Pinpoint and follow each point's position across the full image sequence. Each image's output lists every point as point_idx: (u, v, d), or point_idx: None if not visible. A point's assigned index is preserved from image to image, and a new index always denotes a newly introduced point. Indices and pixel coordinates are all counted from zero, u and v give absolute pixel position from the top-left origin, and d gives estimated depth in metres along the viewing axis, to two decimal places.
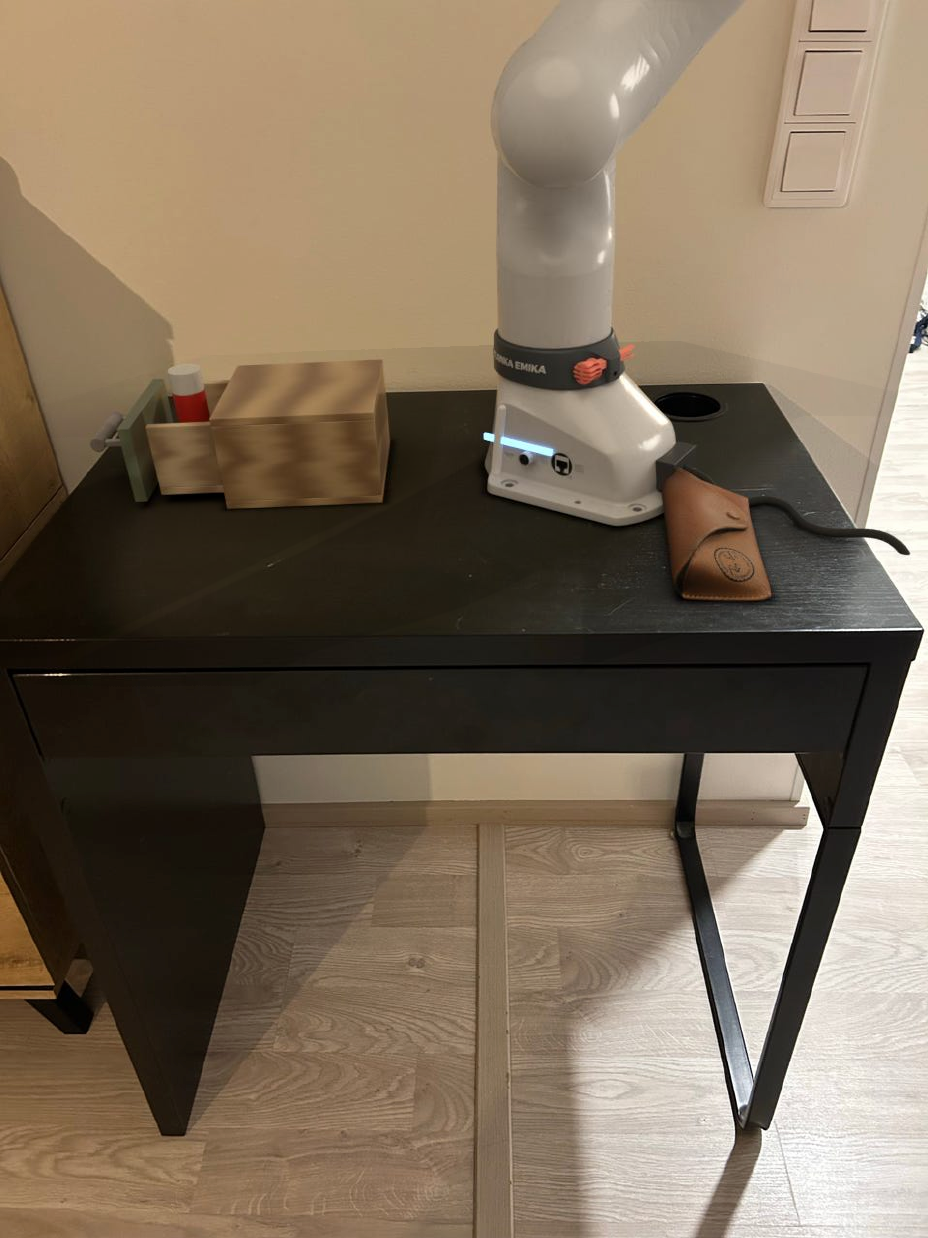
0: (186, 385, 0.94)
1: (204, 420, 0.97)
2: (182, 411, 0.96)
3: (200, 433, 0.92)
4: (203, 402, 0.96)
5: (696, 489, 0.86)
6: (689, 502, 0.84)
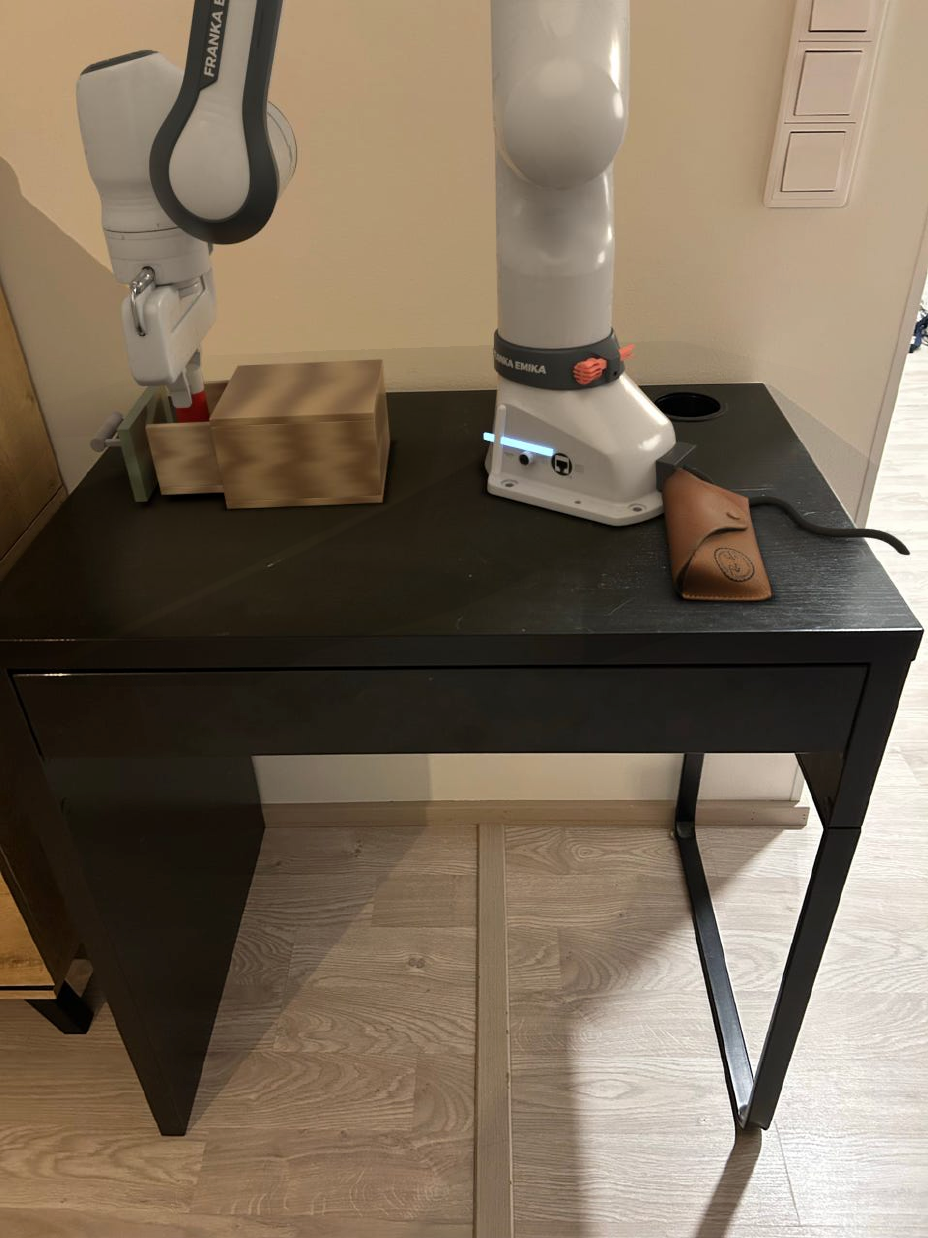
0: None
1: (204, 420, 0.97)
2: (182, 411, 0.96)
3: (200, 433, 0.92)
4: (203, 402, 0.96)
5: (696, 489, 0.86)
6: (689, 502, 0.84)
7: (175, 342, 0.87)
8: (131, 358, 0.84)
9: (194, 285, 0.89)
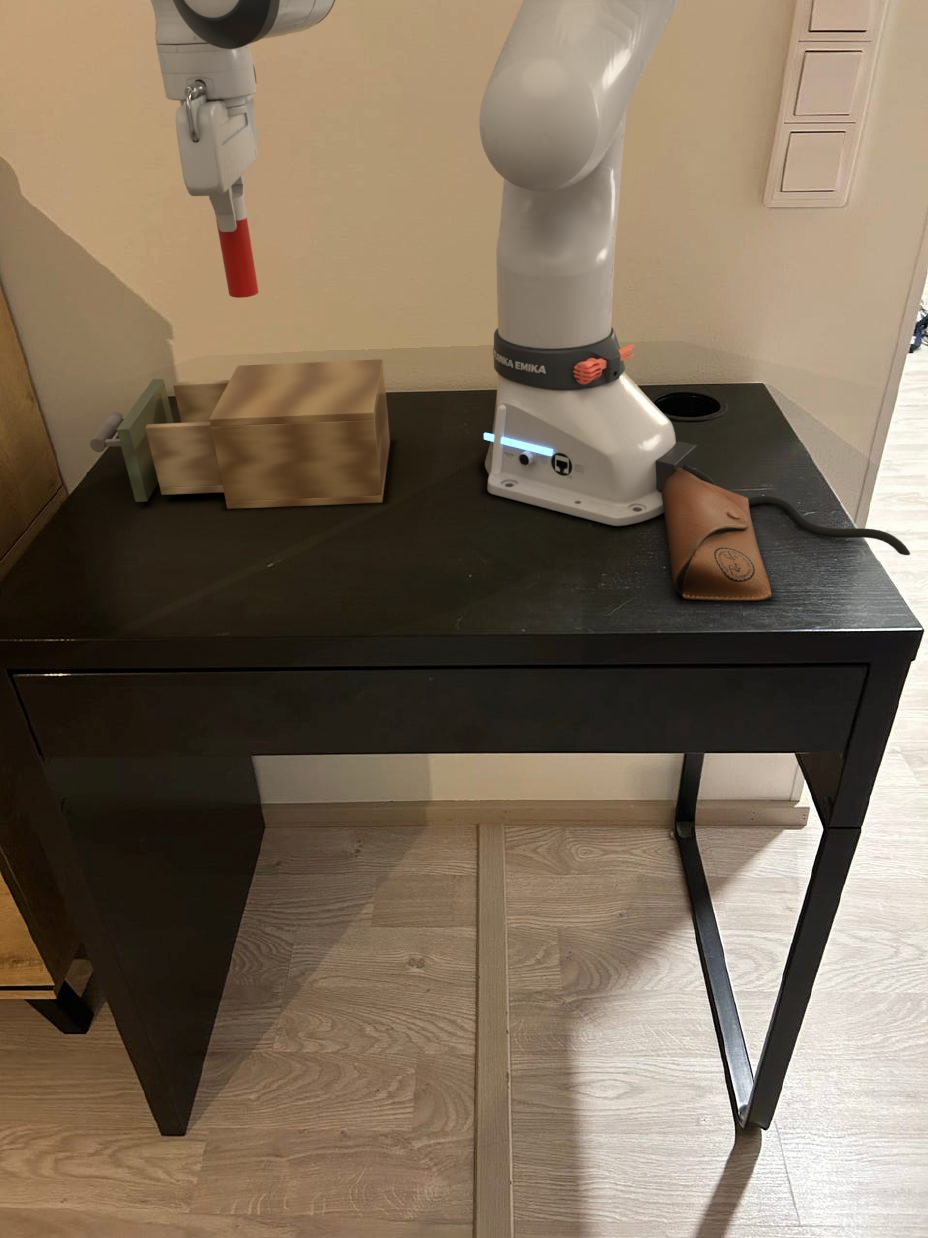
0: None
1: (246, 249, 1.02)
2: (226, 238, 1.00)
3: (200, 433, 0.92)
4: (246, 230, 1.01)
5: (696, 489, 0.86)
6: (689, 502, 0.84)
7: (224, 155, 0.91)
8: (184, 165, 0.89)
9: (241, 106, 0.94)
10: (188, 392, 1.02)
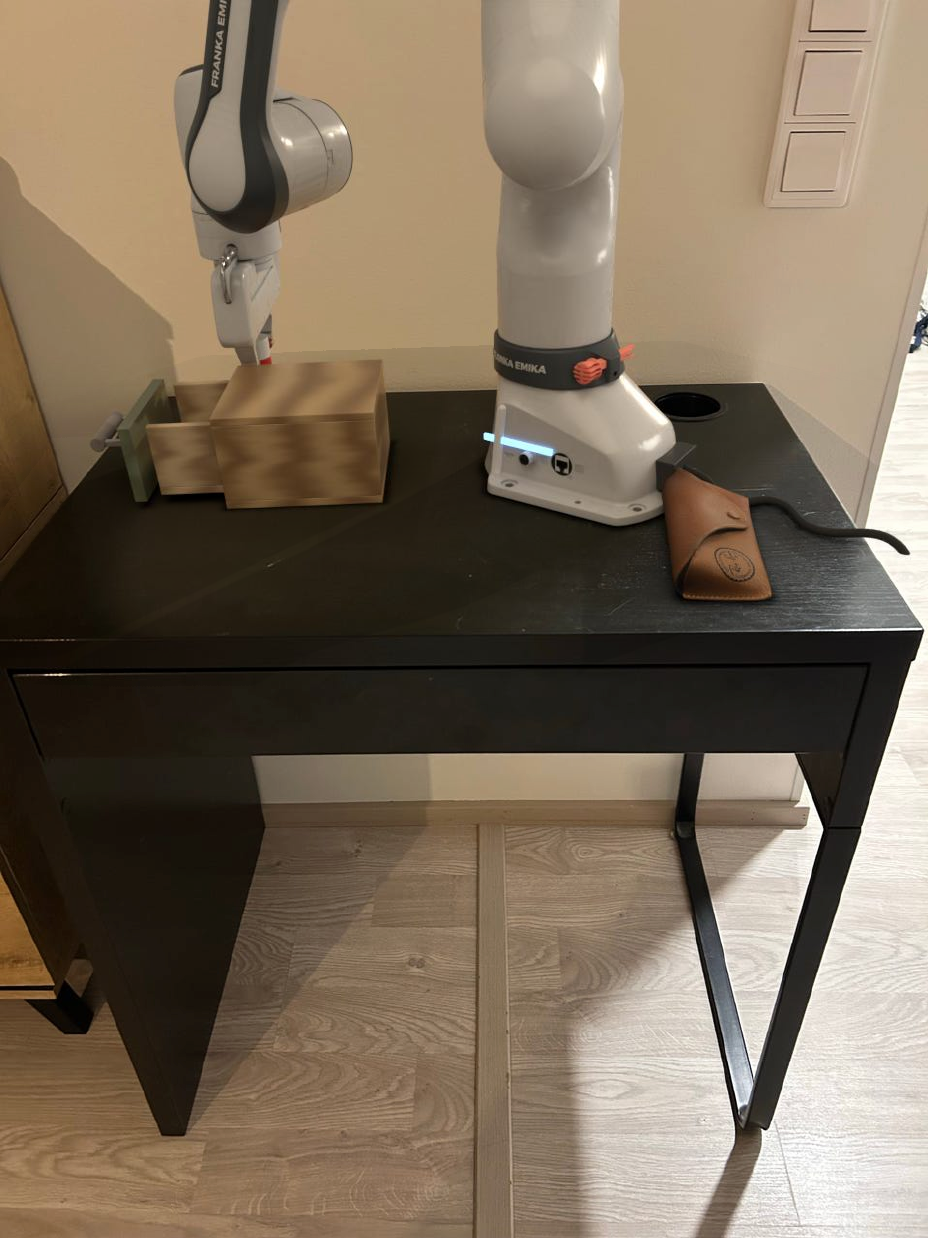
0: None
1: None
2: None
3: (200, 433, 0.92)
4: None
5: (696, 489, 0.86)
6: (689, 502, 0.84)
7: (254, 310, 1.00)
8: (218, 323, 0.98)
9: (268, 261, 1.03)
10: (188, 392, 1.02)
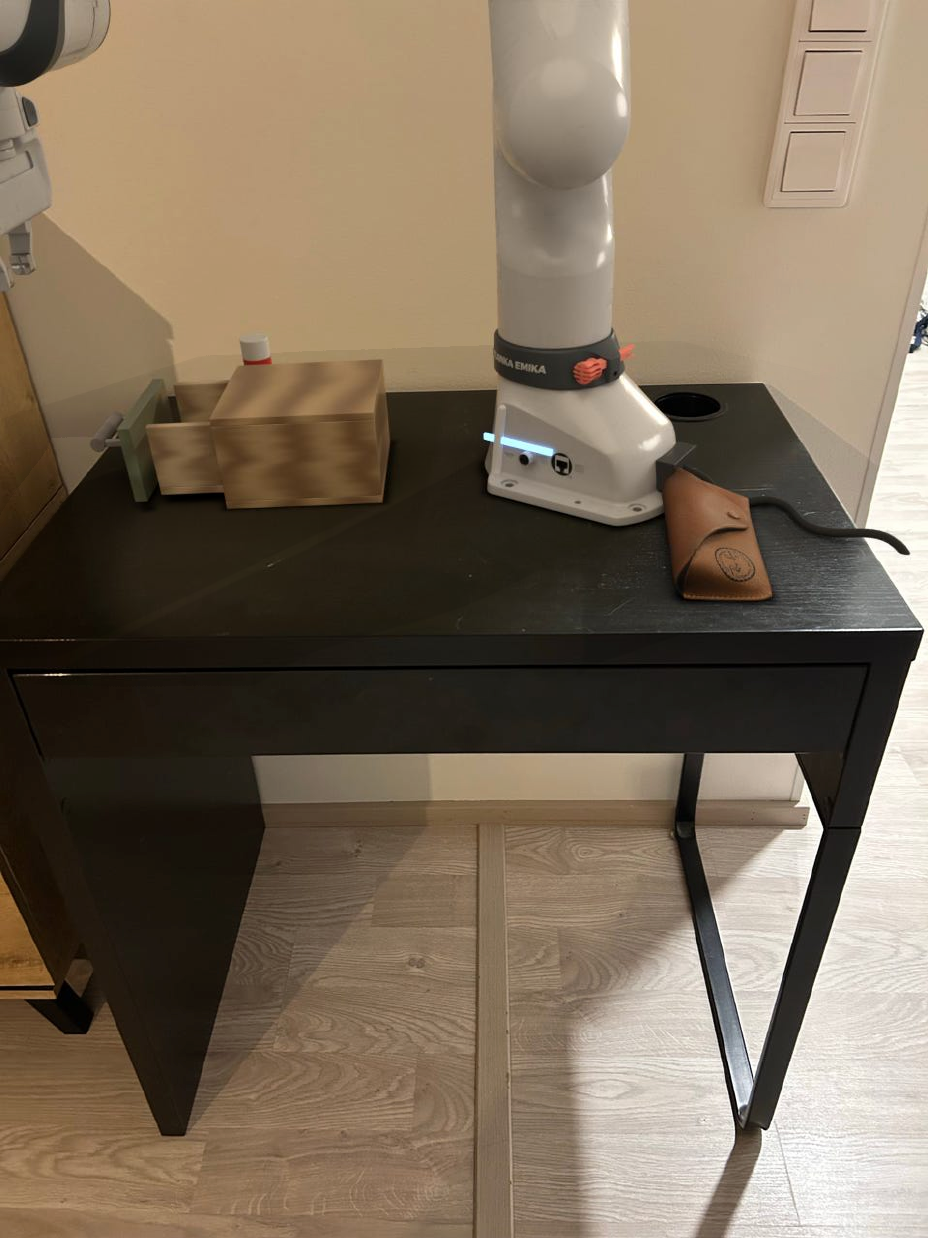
0: (256, 352, 1.08)
1: None
2: None
3: (200, 433, 0.92)
4: None
5: (696, 489, 0.86)
6: (689, 502, 0.84)
7: None
8: None
9: (5, 151, 0.83)
10: (188, 392, 1.02)
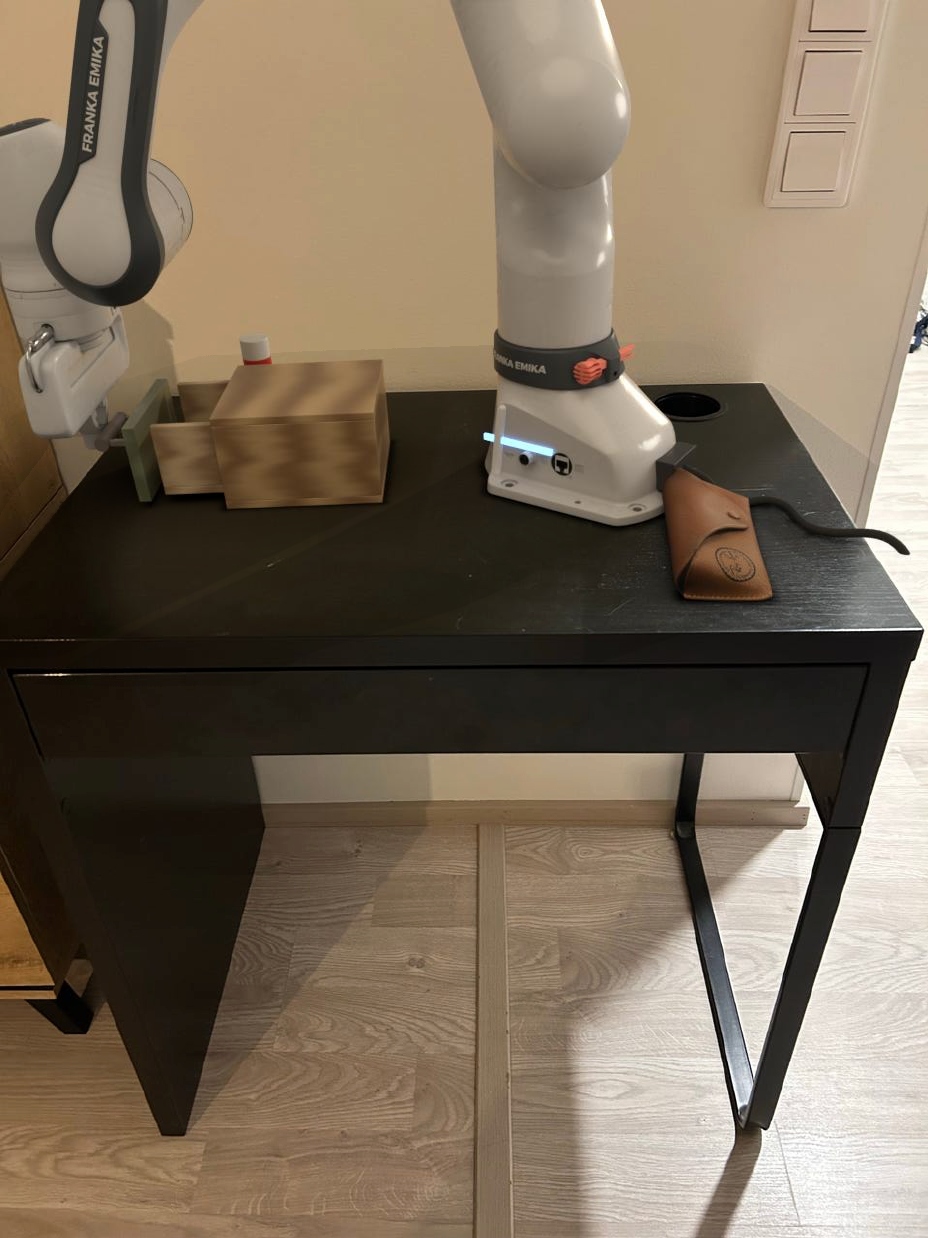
0: (256, 352, 1.08)
1: None
2: None
3: (205, 433, 0.92)
4: None
5: (696, 489, 0.86)
6: (690, 502, 0.84)
7: (75, 396, 0.90)
8: (30, 413, 0.87)
9: (96, 339, 0.92)
10: (192, 392, 1.02)
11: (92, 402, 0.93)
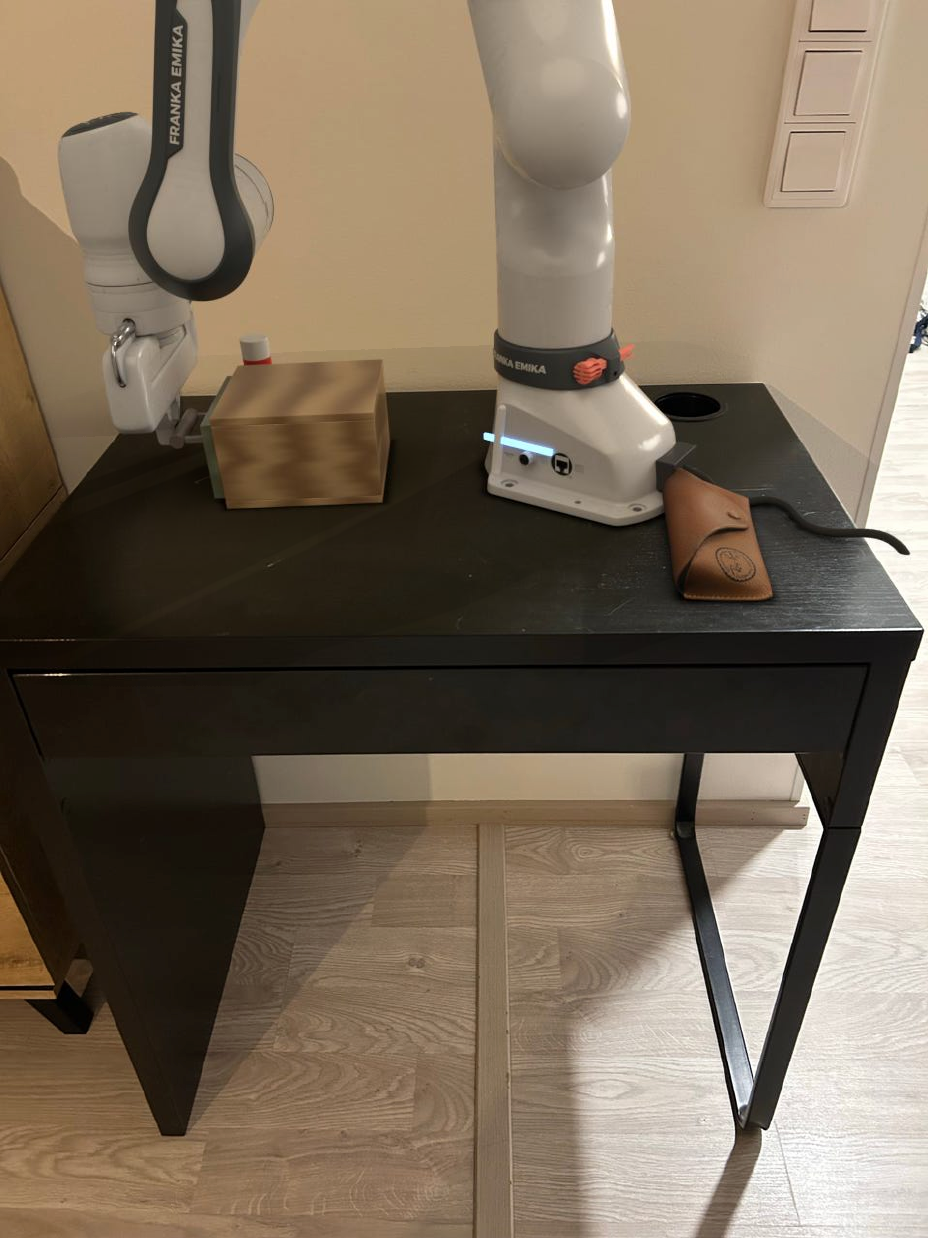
0: (256, 352, 1.08)
1: None
2: None
3: None
4: None
5: (696, 489, 0.86)
6: (690, 502, 0.84)
7: (155, 391, 0.89)
8: (112, 408, 0.87)
9: (174, 334, 0.92)
10: None
11: (169, 397, 0.93)
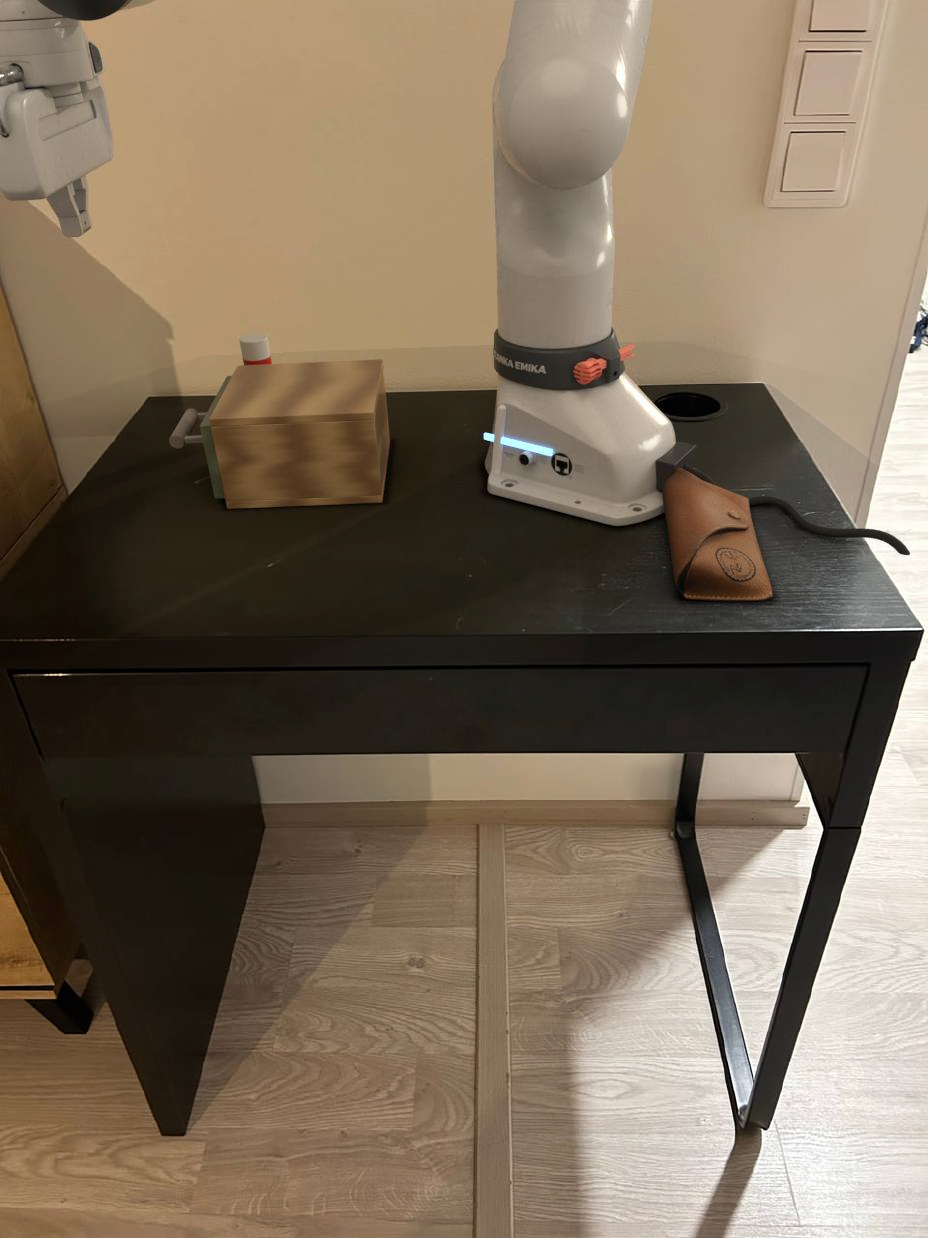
0: (256, 352, 1.08)
1: None
2: None
3: None
4: None
5: (696, 489, 0.86)
6: (690, 502, 0.84)
7: (48, 152, 0.78)
8: None
9: (73, 95, 0.80)
10: None
11: (69, 171, 0.82)
